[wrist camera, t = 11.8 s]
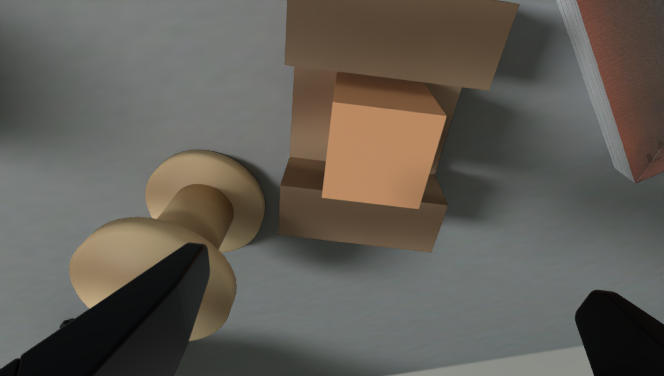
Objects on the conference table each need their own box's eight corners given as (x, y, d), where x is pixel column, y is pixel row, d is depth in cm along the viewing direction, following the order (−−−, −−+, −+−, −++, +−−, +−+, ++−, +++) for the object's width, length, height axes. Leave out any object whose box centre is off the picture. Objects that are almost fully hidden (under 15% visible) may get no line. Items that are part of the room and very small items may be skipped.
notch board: (418, 208, 21) (431, 252, 18) (289, 193, 21) (278, 234, 18) (481, -3, 15) (519, 4, 12) (302, -27, 15) (288, -27, 12)
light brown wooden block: (402, 154, 18) (418, 208, 14) (328, 146, 18) (321, 197, 14) (421, 79, 16) (446, 116, 12) (337, 68, 16) (332, 102, 12)
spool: (264, 248, 24) (233, 349, 17) (162, 236, 23) (92, 333, 17) (266, 157, 20) (226, 243, 14) (144, 142, 20) (47, 222, 13)
